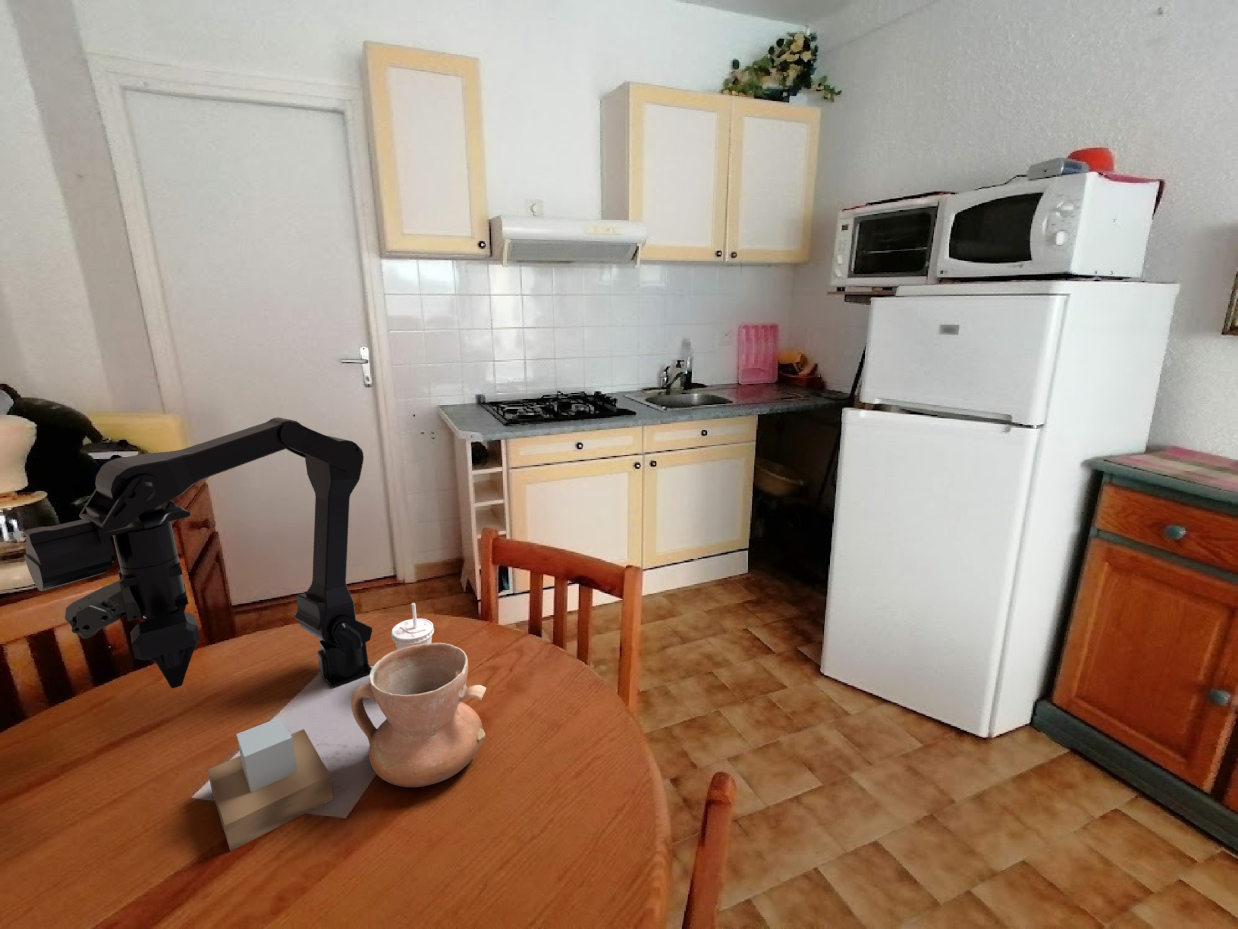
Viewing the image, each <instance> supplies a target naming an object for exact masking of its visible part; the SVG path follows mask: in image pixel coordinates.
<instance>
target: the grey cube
mask: <svg viewBox="0 0 1238 929" xmlns="http://www.w3.org/2000/svg"><path fill="white" fill-rule="evenodd" d="M288 728H289V727H288V726H287V724H286V722H285V719H284V717H283V716H280V717H276V718H274V719H272V720H270V721H267V722H264V723H262V724H259V725H257V726H254V727H251V728H248V729H246V730H244V731H241V732H238V733H236V734H235V735H236V739H237V746H238V750H239V756H241V762H242V767H243V771H244V774H245V777H246V780H247V783H248V785H249V788H250V791H251V792H253V791H256V790H258V789H260V788H262V787H265V786H267V785H269V784H271V783H274V782H276V781H278V780H280V779H283V778H285V777H287V776H289V775H292V774H294V773H296V772H297V766H296V760H295V753H294V747H293V741H292V736H291V734H292V733H291V732H290V731H289V729H288Z"/></svg>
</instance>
